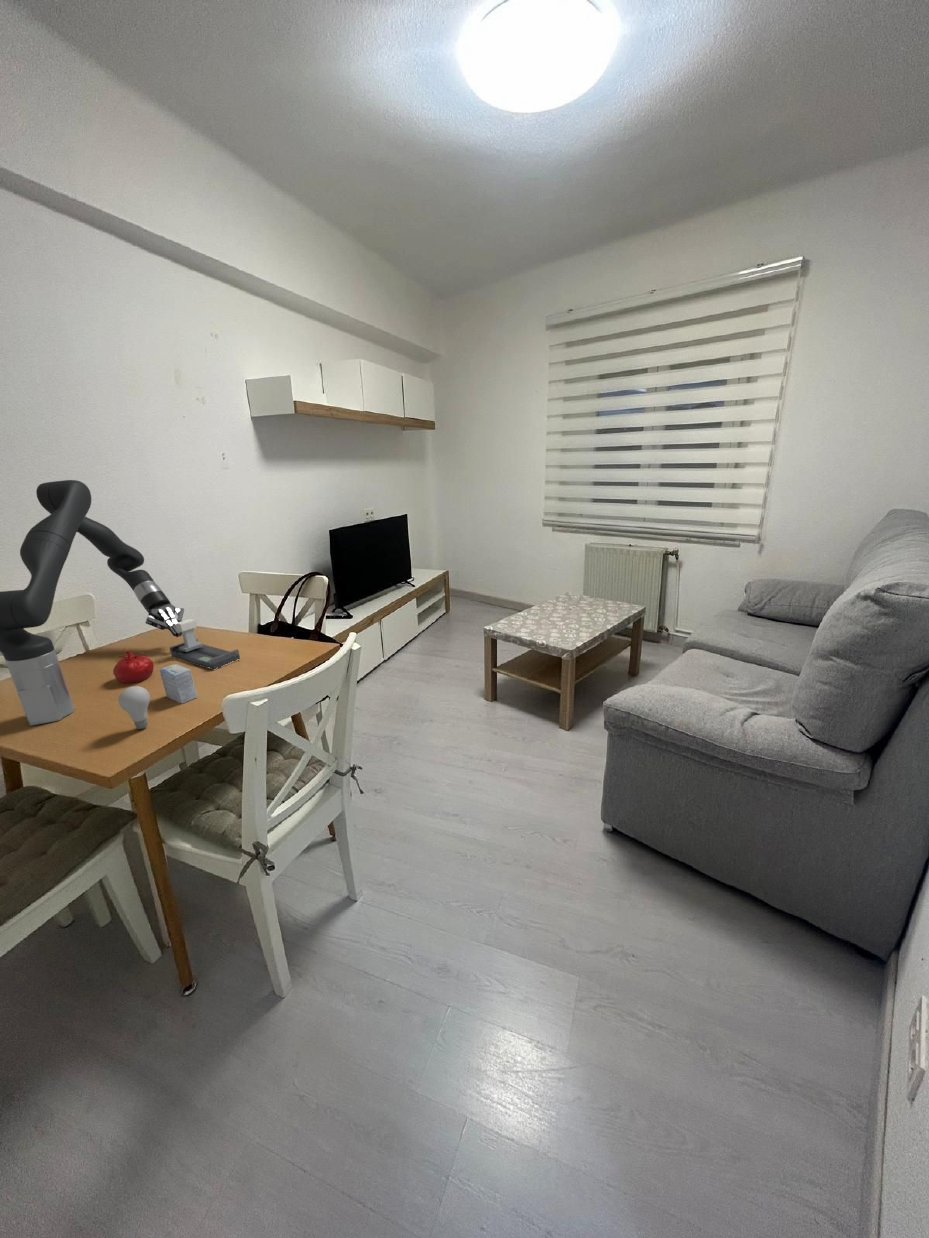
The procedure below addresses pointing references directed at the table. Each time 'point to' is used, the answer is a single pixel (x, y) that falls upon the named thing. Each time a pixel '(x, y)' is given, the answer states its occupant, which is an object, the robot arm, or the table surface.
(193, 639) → the fader
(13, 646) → the robot arm
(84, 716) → the table surface
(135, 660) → the pomegranate
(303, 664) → the table surface
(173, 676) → the medicine box
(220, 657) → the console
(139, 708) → the lightbulb
